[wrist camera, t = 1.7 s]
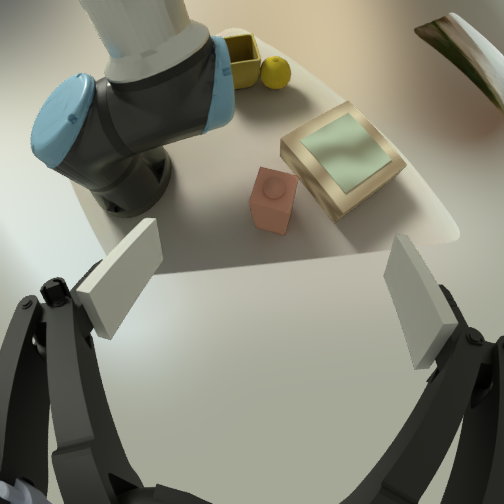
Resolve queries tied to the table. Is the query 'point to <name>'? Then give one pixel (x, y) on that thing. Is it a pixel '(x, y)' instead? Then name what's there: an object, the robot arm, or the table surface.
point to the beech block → (340, 159)
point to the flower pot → (243, 60)
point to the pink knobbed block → (273, 199)
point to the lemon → (275, 72)
